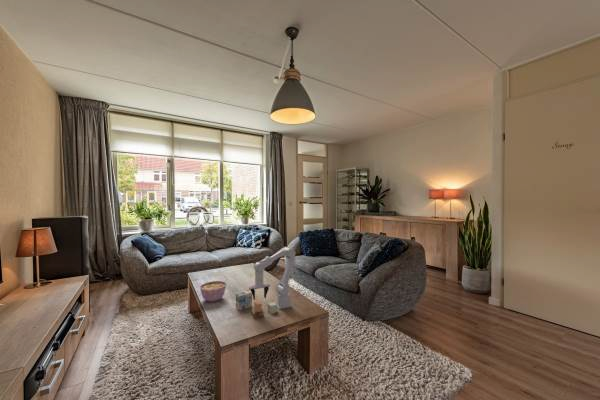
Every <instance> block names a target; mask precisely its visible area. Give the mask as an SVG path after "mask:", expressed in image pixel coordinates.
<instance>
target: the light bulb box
mask: <svg viewBox="0 0 600 400" xmlns="http://www.w3.org/2000/svg"><path fill="white" fill-rule="evenodd" d="M252 307H253V295H252V292H251V290H249V289H248V290H242V291H239V292H235V308H236V309H237V310H238V311H242V310H245V309H248V308H252Z"/></svg>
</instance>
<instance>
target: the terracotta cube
mask: <svg viewBox="0 0 600 400" xmlns="http://www.w3.org/2000/svg"><path fill="white" fill-rule="evenodd" d="M262 304H263V303H262V300H254V301H253V309H254V312H262V310H263V307H262Z"/></svg>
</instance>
